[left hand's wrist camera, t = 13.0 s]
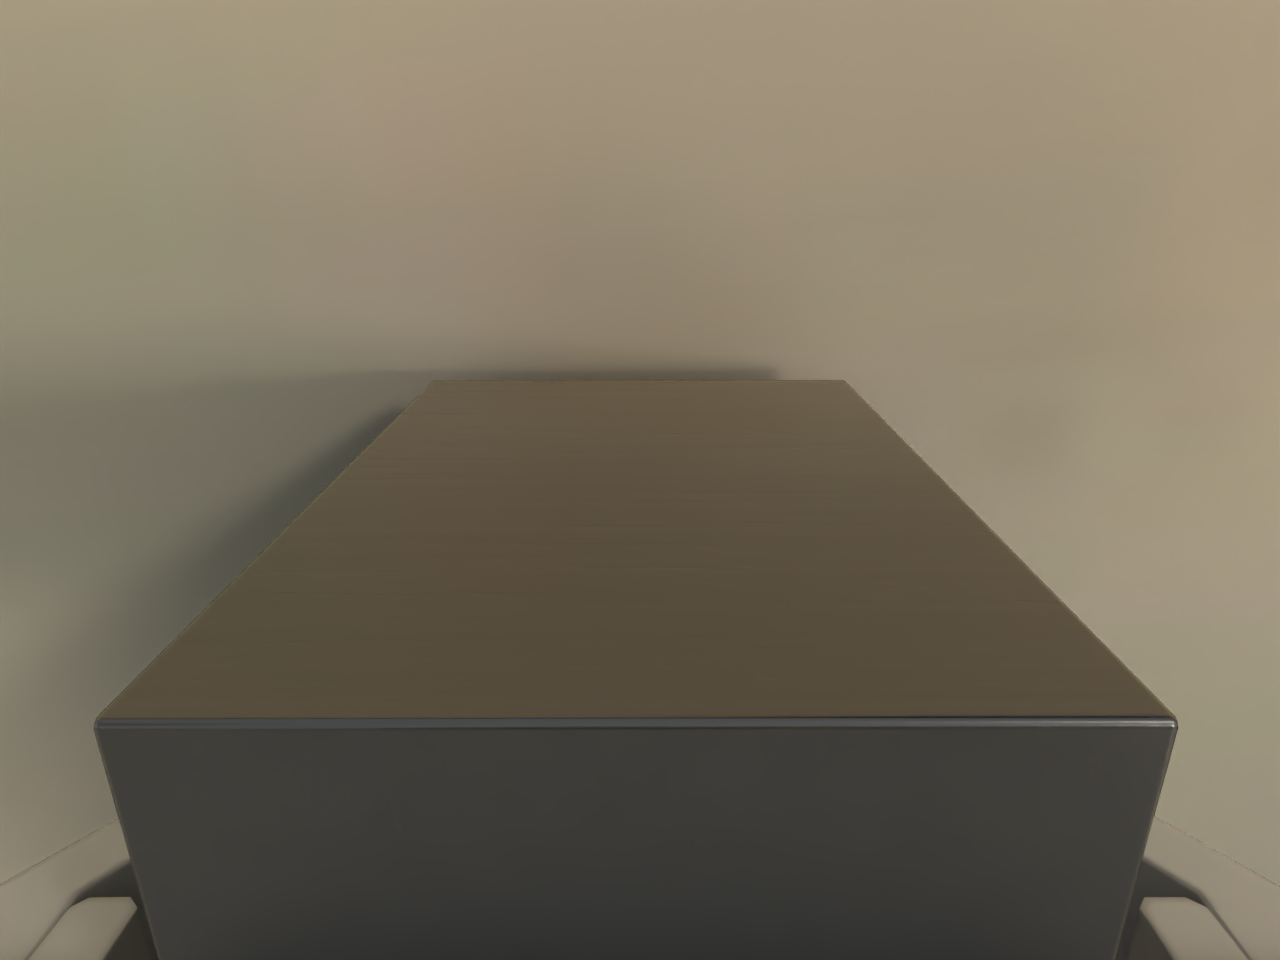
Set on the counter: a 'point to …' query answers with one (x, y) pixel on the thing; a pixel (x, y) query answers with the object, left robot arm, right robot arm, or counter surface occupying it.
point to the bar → (636, 704)
